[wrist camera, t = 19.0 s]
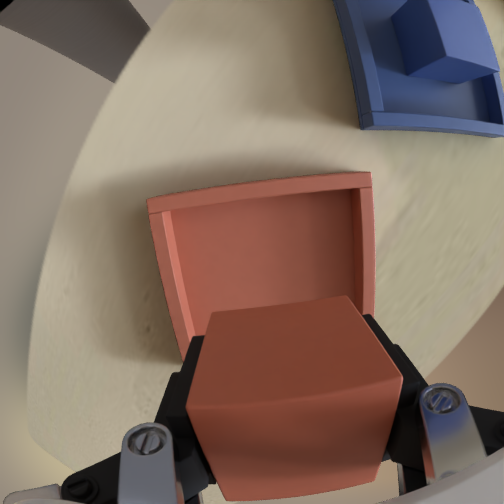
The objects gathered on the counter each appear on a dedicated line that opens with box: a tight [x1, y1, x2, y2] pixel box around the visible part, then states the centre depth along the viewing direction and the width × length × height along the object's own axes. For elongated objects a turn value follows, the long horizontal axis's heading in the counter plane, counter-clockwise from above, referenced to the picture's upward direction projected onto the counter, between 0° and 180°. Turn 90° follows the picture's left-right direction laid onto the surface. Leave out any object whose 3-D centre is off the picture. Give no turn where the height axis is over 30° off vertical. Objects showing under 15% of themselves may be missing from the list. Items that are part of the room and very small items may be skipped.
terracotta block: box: [186, 295, 403, 501], centre depth 8 cm, size 4×4×4 cm
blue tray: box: [333, 0, 504, 138], centre depth 13 cm, size 12×12×2 cm
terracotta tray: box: [146, 171, 375, 362], centre depth 17 cm, size 12×12×2 cm
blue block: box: [391, 0, 500, 84], centre depth 11 cm, size 4×4×4 cm
